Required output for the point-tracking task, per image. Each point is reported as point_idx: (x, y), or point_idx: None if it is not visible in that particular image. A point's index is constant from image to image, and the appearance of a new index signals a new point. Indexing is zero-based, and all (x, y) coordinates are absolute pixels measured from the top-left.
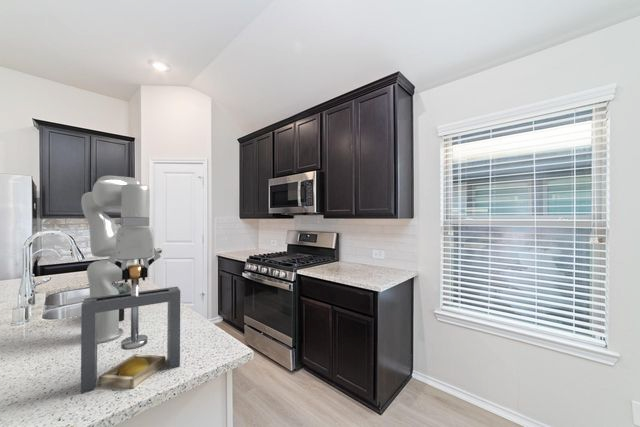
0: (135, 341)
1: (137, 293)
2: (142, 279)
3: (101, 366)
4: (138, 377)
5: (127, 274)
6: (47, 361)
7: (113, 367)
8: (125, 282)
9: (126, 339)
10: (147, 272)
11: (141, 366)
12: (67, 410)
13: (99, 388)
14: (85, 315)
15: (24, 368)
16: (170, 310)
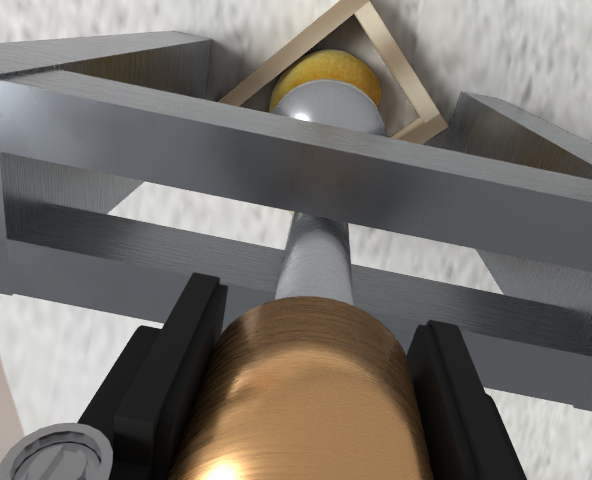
0: (327, 115)
1: (299, 239)
2: (223, 311)
3: (398, 259)
4: (337, 3)
5: (445, 407)
6: (508, 412)
7: None
8: (443, 323)
9: None
10: (115, 368)
11: (310, 73)
12: (561, 9)
13: (445, 92)
14: None
15: (564, 409)
16: (91, 57)
